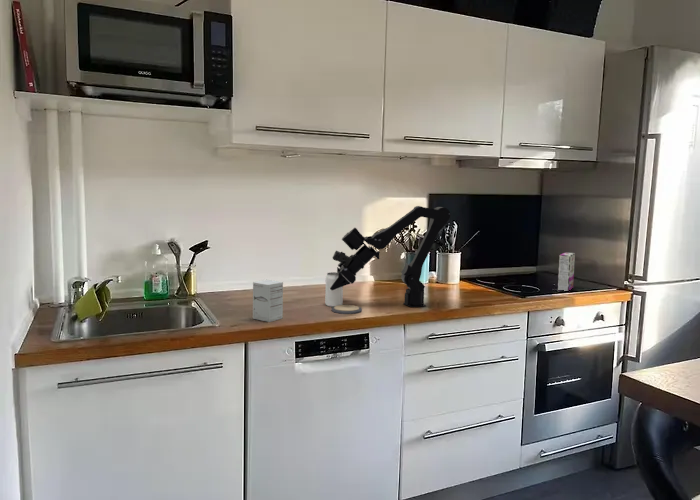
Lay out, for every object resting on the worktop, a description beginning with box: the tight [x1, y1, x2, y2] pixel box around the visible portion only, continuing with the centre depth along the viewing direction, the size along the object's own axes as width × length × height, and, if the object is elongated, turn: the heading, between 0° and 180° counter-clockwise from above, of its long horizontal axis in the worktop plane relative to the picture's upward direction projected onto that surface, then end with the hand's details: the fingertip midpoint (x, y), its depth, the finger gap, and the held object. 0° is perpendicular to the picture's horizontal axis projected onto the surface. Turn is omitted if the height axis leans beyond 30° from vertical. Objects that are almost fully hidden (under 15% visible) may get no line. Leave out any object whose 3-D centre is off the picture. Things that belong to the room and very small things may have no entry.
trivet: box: [331, 304, 363, 315], centre depth 206 cm, size 11×11×1 cm
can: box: [324, 271, 344, 308], centre depth 214 cm, size 6×6×12 cm
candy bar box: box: [557, 252, 576, 292], centre depth 254 cm, size 11×5×16 cm, turn 148°
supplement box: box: [252, 279, 284, 323], centre depth 191 cm, size 7×7×13 cm
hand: (330, 287), depth 214 cm, fingers closed on can, 6 cm apart
